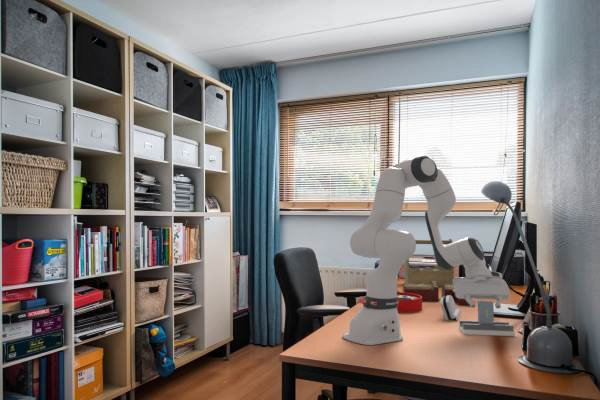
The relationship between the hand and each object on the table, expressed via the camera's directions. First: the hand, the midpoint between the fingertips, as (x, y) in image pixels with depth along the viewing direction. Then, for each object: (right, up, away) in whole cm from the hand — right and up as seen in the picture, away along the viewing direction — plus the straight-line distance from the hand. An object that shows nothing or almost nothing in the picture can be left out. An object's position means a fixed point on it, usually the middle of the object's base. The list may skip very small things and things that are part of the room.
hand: (485, 307), depth 167 cm
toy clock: (-23, -11, +43) cm, 50 cm away
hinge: (-4, -11, +26) cm, 29 cm away
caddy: (+11, -14, +113) cm, 114 cm away
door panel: (0, -8, -1) cm, 8 cm away
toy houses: (-5, -12, +62) cm, 63 cm away
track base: (0, -9, -1) cm, 9 cm away
